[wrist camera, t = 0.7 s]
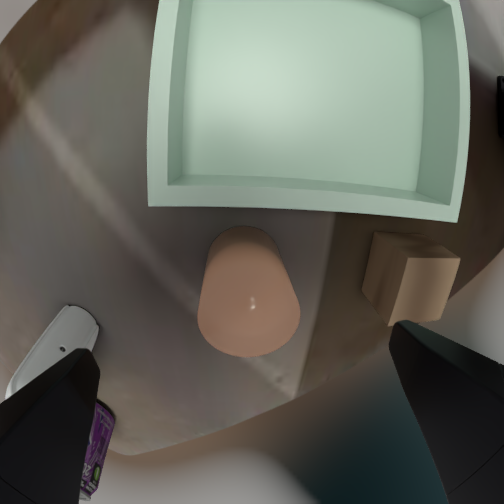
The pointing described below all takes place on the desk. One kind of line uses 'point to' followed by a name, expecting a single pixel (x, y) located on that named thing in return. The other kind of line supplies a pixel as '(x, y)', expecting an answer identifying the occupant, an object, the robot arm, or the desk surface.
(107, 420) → the beverage can
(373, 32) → the tote
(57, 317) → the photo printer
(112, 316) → the desk surface
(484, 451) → the robot arm
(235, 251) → the terracotta cylinder
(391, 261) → the walnut block
